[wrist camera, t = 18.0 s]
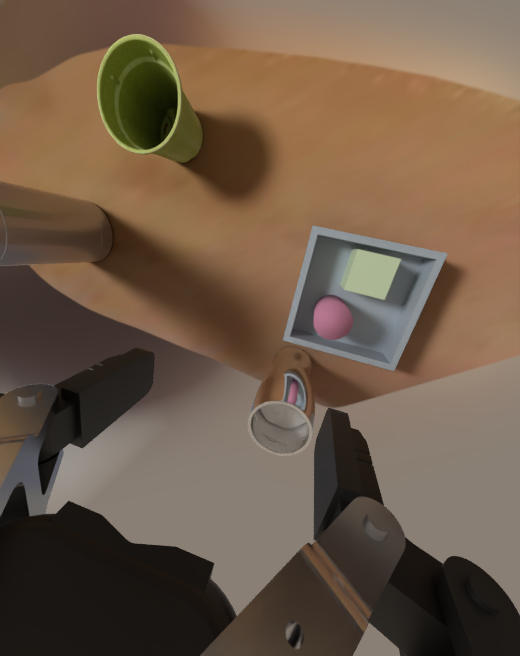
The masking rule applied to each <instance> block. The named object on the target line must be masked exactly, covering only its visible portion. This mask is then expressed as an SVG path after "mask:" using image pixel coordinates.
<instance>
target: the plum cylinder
mask: <svg viewBox="0 0 520 656" xmlns="http://www.w3.org/2000/svg"><path fill="white" fill-rule="evenodd" d="M352 326H353V317H352V314H351V312H350V310H349V309H348V307H347V305H346V304H345V302H344V301H343V299H341V298H340V297H338V296H336V295H326V296H323V297H321V298H320V299H319V300H318V301H317V302H316V304H315V306H314V328H315V330H316V332H317V333H318V334H319V335H320V336H321V337H323V338H325V339H328V340H337V339H341V338H343V337H344V336H346V335H347V334H348V333H349V332H350V330H351V328H352Z"/></svg>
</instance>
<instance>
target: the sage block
mask: <svg viewBox="0 0 520 656" xmlns="http://www.w3.org/2000/svg"><path fill="white" fill-rule="evenodd" d="M400 261H401V259H399V258H395V257H390V256H386V255H382V254H377V253H373V252H369V251H364V250H360V249H353V250H352V251H351V254H350V257H349V260H348V263H347V266H346V269H345V272H344V275H343V278H342V281H341V284H340V285H341V286H342V288H343V289H344V290H347V291H351V292H355V293H359V294H363V295H367V296H371V297H374V298H378V299H382V300H385V298H386V295H387V293H388V290H389V288H390V286H391V283H392V281H393V278H394V276H395V273H396V271H397V268H398V266H399V263H400Z"/></svg>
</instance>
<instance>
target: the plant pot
mask: <svg viewBox="0 0 520 656" xmlns="http://www.w3.org/2000/svg"><path fill="white" fill-rule="evenodd" d="M97 99H98V105H99V110H100V114H101V117H102V120H103V122H104V124H105V126H106V128H107V130H108V132H109V133H110V135H111V136H112V137H113V138H114V140H115V141H116V142H117V143H118V144H119V145H121V146H122V147H123V148H125V149H126V150H128V151H131V152H133V153H137V154H156V155H159V156H162V157H165V158H168V159H170V160H173V161H176V162H181V163H184V162H187V161H189V160H190V159H192V158H193V157H195V156H196V155H197V154H198V152H199V150H200V148H201V145H202V140H203V131H202V127H201V124H200V121H199V119H198V117H197V115H196V113H195V112H194V110H193V108H192V106H191V105H190V103H189V101H188V99H187V98H186V96H185V94H184V92H183V90H182V86H181V81H180V77H179V74H178V71H177V68H176V66H175V64H174V62H173V60H172V58H171V57H170V55H169V54H168V52H167V51H166V50H165V49H164V47H163V46H162V45H161V44H159V43H158V42H157V41H155V40H154V39H152V38H150V37H148V36H145V35H141V34H133V35H128V36H125V37H123V38H121V39H119V40H118V41H116V42H115V43H114V44H113V45H112V46H111V47H110V49H109V50H108V51H107V53H106V55H105V56H104V58H103V61H102V63H101V66H100V70H99V73H98V80H97ZM166 123H167V124H168V126H167V130H166V133H165V134H166V135H164V127H165V125H166Z"/></svg>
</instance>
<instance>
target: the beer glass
mask: <svg viewBox="0 0 520 656" xmlns="http://www.w3.org/2000/svg"><path fill="white" fill-rule="evenodd" d="M311 371H312V361H311V359H310V357H309V355H308V354H307V353H306V352H305V351H303V350H302V349H299V348H296V347H287V348H284V349H282V350H280V351H279V352H278V353H277V354H276V356H275V358H274V361H273V369H272V371H271V372H270V373H269V374H268V375H267V376H266V378H265V379H264V380H263V382H262V383H261V385H260V387H259V389H258V391H257V393H256V396H255V399H254V402H253V405H252V409H251V413H250V415H249V418H248V430H249V433H250V436H251V437H252V439H253V440H254V442H255V443H256V444H257V445H258V446H259V447H261V448H262V449H264V450H265V451H267V452H269V453H272V454H275V455H280V456H290V455H295V454H297V453H300V452H301V451H303V450H304V449H305V448H307V446H308V445H309V444H310V442H311V439H312V434H313V424H314V416H315V398H314V393H313V389H312V385H311V382H310V379H309V376H310V374H311Z"/></svg>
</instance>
